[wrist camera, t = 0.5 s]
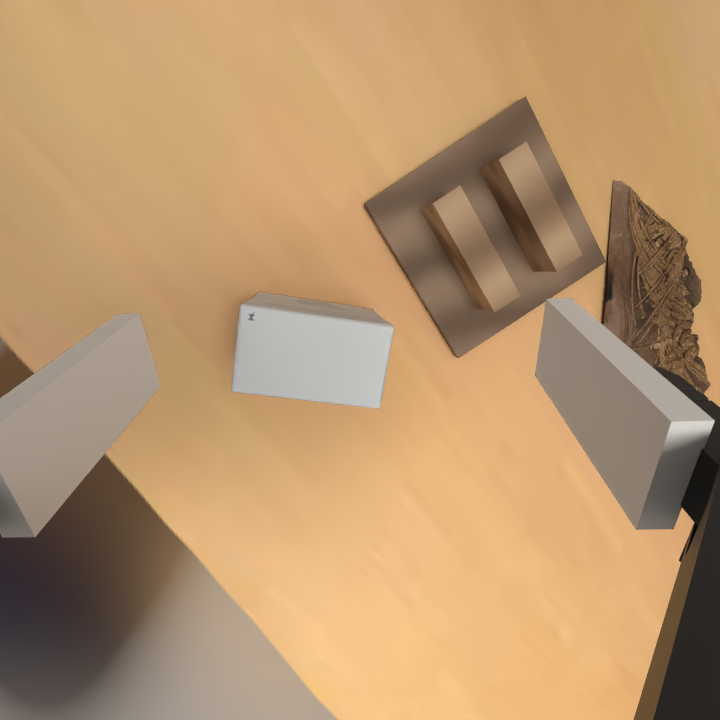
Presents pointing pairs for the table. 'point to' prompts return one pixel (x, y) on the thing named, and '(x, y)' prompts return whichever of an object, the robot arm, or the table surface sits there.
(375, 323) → the skincare box
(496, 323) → the ridge board
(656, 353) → the wooden fragment
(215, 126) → the table surface
